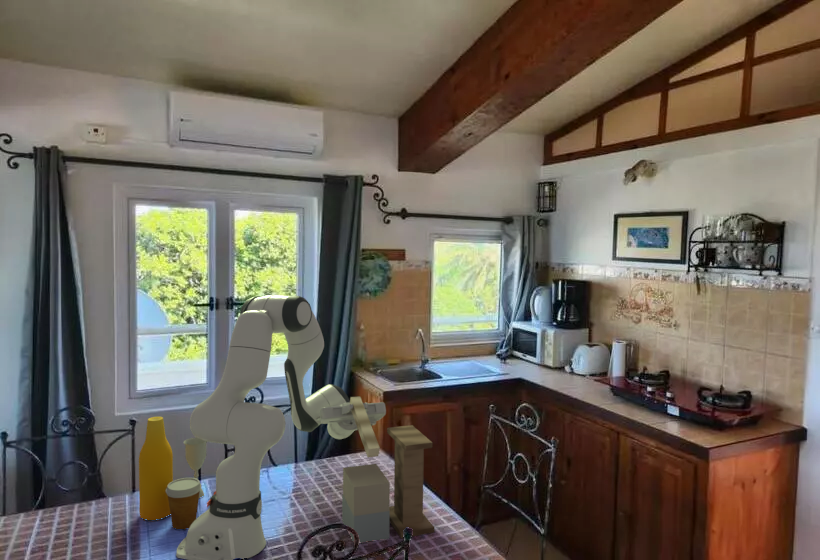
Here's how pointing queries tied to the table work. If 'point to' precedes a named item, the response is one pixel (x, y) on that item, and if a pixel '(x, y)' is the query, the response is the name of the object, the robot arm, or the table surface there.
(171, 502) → the disposable coffee cup
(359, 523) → the tower base block
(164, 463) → the beer bottle
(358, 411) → the batten
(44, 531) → the table surface
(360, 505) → the tower top block
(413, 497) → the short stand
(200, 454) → the chalice
